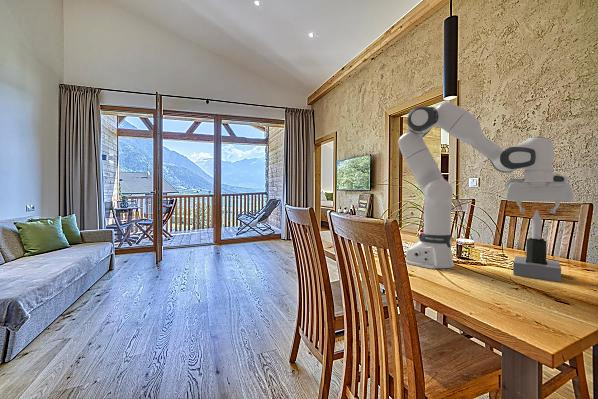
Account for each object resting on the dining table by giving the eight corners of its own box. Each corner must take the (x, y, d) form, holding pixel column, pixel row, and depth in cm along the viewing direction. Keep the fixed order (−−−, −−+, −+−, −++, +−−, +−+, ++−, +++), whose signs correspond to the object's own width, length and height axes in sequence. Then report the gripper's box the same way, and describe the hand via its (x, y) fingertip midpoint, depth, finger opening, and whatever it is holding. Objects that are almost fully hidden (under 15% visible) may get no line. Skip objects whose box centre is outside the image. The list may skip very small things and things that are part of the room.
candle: (538, 270, 116) (540, 209, 115) (547, 273, 111) (548, 210, 110) (524, 269, 117) (525, 209, 116) (532, 273, 112) (533, 210, 111)
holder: (513, 274, 113) (513, 262, 113) (515, 267, 124) (515, 256, 124) (560, 282, 104) (561, 268, 104) (558, 273, 115) (559, 261, 115)
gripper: (505, 178, 117) (504, 211, 118) (574, 177, 104) (572, 215, 104) (506, 179, 122) (505, 211, 122) (572, 177, 109) (571, 213, 109)
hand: (537, 212), depth 113 cm, fingers open, 8 cm apart
